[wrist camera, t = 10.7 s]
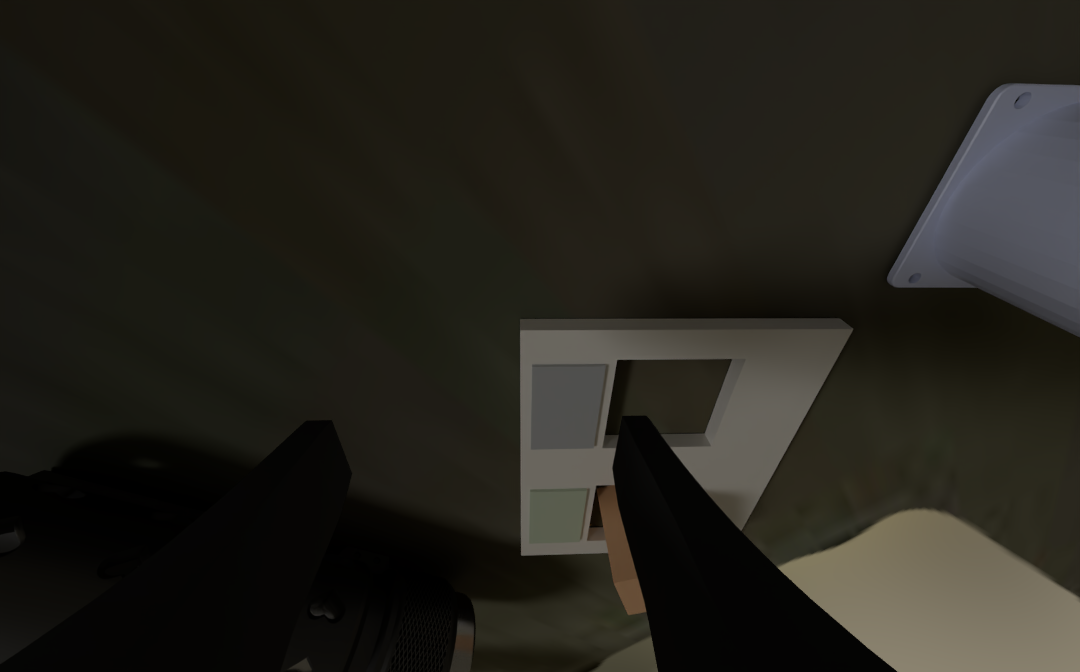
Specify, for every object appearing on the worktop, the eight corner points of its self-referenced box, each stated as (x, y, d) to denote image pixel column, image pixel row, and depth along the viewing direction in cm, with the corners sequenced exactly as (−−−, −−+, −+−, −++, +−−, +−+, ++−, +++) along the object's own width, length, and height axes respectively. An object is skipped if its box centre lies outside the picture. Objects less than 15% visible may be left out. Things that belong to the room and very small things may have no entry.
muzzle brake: (37, 418, 22) (-278, 648, 13) (487, 551, 31) (475, 734, 23) (36, 508, 26) (-203, 727, 17) (433, 601, 36) (406, 771, 27)
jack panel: (839, 318, 20) (856, 331, 19) (725, 536, 31) (732, 551, 30) (520, 318, 19) (520, 332, 18) (520, 542, 30) (521, 558, 29)
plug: (662, 473, 27) (695, 566, 22) (671, 513, 29) (702, 605, 24) (596, 488, 27) (613, 582, 22) (611, 526, 30) (629, 618, 25)
